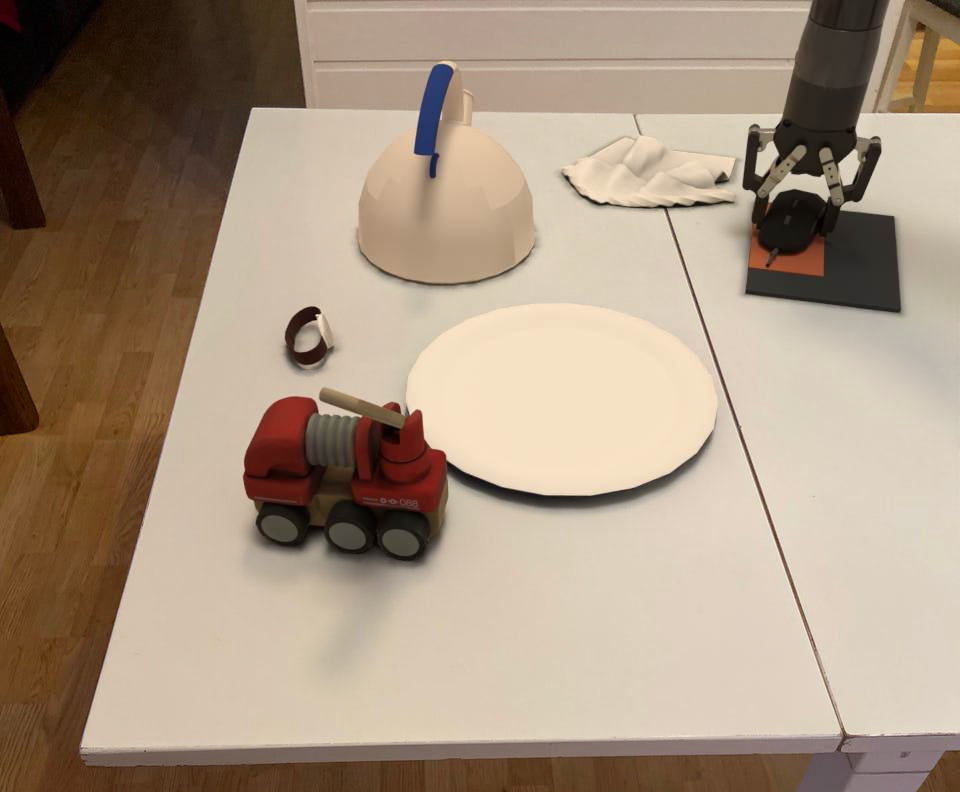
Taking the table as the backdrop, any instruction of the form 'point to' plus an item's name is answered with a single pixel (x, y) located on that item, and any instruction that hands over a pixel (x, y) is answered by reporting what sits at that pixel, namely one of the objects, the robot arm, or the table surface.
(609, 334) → the plate
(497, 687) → the table surface
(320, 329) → the watch
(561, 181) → the table surface
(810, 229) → the gaming mouse
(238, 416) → the table surface
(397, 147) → the kettle
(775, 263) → the mat
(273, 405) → the toy fire truck
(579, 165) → the cloth
